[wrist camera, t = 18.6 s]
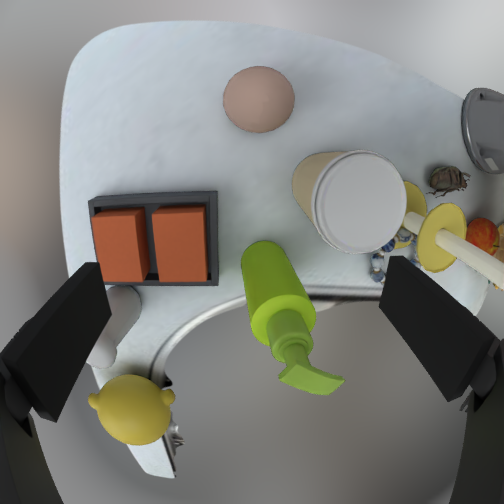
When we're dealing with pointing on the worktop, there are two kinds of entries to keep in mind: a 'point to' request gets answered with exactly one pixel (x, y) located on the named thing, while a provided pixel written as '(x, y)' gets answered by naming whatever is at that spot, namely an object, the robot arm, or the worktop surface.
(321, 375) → the soap dispenser
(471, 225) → the fruit
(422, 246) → the yellow disc white stick
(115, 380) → the sculpture
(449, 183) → the insect
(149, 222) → the pad frame
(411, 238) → the bracelet
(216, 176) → the worktop surface
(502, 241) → the cartoon bug character
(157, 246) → the loose pad
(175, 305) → the worktop surface
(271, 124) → the egg
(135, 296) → the salt shaker
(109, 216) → the seated pad
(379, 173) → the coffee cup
